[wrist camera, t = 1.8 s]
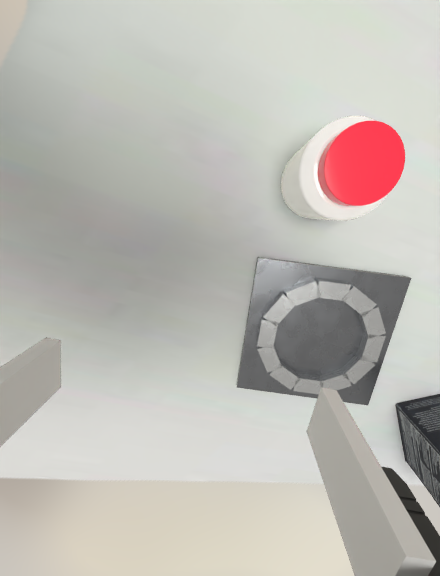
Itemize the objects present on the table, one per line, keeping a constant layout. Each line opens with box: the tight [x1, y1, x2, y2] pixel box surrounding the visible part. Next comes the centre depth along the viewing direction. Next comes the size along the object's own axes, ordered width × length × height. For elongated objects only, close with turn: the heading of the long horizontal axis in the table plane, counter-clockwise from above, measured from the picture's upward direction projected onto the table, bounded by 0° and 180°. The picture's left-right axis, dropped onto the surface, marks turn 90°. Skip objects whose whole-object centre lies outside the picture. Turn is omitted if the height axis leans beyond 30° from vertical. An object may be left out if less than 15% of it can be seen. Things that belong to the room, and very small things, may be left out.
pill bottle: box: [281, 116, 405, 221], centre depth 23 cm, size 8×8×11 cm
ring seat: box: [237, 257, 411, 405], centre depth 33 cm, size 18×18×2 cm
